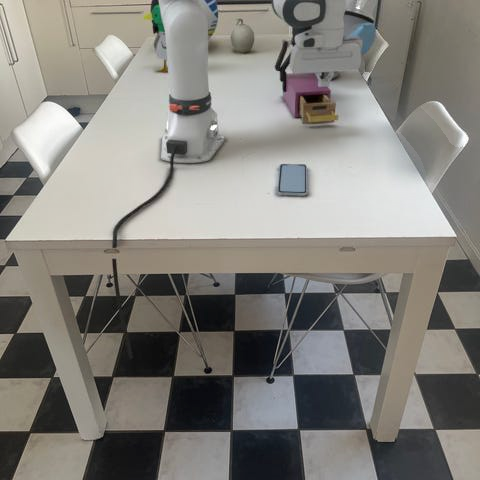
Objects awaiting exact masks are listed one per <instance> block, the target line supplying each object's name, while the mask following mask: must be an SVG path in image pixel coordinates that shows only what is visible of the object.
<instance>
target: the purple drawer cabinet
mask: <svg viewBox="0 0 480 480" xmlns="http://www.w3.org/2000/svg"><path fill="white" fill-rule="evenodd" d="M331 90H332V89H330V88H329V87H319V86H318V79H317V77H316V75H315V73H301V74H294V73H293V72H292V73H291V72H289V73H287V75H286V92H284V91H283V90H282V99H283V100H284V102H285V103H286V105H287V107H288V109H289V110H290V111H291V114H292V115H293V117H294V118H302V116H301V115H300V113H299V111H298V99H299V96H301V95H316V94H325V95H326V96H327V97H328V99H329V100H330V101H331Z"/></svg>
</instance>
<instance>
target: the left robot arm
mask: <svg viewBox="0 0 480 480" xmlns="http://www.w3.org/2000/svg"><path fill="white" fill-rule="evenodd" d="M158 1H159V6H160V12H161V17H162V22H163V26H164V30H165V37H166V48H167V60H166V64H167V68H168V69H167V74H168V75H167V76H168V84H169V95H168V104H169V110H168V111H167V112H166V117H167V124H166V128H165V134H163V135H162V136H161V137H162V138H161V153H160V158H161V160H163V161H165V162H169V164H170V165H169V173H168V175H167V177H166V179H165V181H164V183H163V184H162V186H161V188H159V190H158V191H157V192H156V193H155V194H154V195H152V196H151V197H150V198H149V199H147V200H146V201H144V202H143V203H140V204H139V205H138V206H137V207H135V208H134V209H133V210H131V211H130V212H129V213H127V214H126V215H124V216H123V217H122V218H121V219H120V220H119V221H117V223H116V224H115V226H114V228H113V230H112V244H111V248H112V249H115V248H117V246H118V245H117V244H118V231H119V229H120V227H121V226H122V225H123V224H124V222H126V221H127V220H129V218H131V217H132V216H134V215H135V214H137V213H138V212H139V211H140V210H142V209H144V208H145V207H146V206H148V205H149V204H150V203H152V202H153V201H155V200H156V199H157V198H159V197H160V195H161V194H163V192H164V191H165V190H166V188H167V187H168V184H169V182H170V181H171V178H172V177H173V172H174V165H175V164H174V163H178V164H179V163H180V164H181V163H182V164H195V163H204V162H208V161H210V160H211V159H212V158H213V157H214V155H215V154H216V153H217V151H218V150H219V149H220V148H221V146H222V145H223V144H224V142H225V139H226V138H225V136H224V135H222V134H220V133H219V119H218V113H217V112H216V111H215V110H214V109H213V108H212V93H211V92H210V84H209V65H208V64H209V60H208V59H209V40H208V22H207V19H206V17H205V15H204V13H203V11H202V8H201V3H200V0H158ZM270 3H271V8H272V11H273V13H274V14H275V15H276V16H277V17H278V18H279V19H281V20H282V21H283V22H284V23H286V25H288V26H289V27H290V28H292V29H293V28H304V27H308V26H312V29H310V30H308V31H305V32H303V33H300V34H298V35H296V36H295V43H296V45H294V47H293V46H292V48H291V50H292V51H291V50H290V52H291V57H290V64H289V70H290V71H291V72H292V73H294V74H301V73H315V75H316V77H317V79H318V86H319V87H328V88H329V87H330V81H332V80H333V79H332V77H333V76H334V71H338V72H347V71H358V70H359V69H360V67H361V65H362V64H361V63H362V56H361V49H362V43H363V41H362V39H361V38H360V37H358V36H343V34H344V20H343V17H344V13H345V10H346V9H347V0H270ZM322 72H327V73H328V74H329V75H328V76H327V78H326V79H322V80H321V78H320V76H321V74H322ZM111 263H112V274H113V275H112V276H113V283H114V284H113V285H114V291H115V297H116V298H115V299H116V303H117V308H118V313H119V318H120V322H121V327H122V331H123V334H124V339H125V344H126V348H127V354H128V358H129V359H130V360H132V359H133V358H134V357H133V351H132V347H131V341H130V337H129V332H128V328H127V323H126V320H125V319H126V318H125V314H124V310H123V305H122V299H121V292H120V287H119V286H120V285H119V284H120V283H119V277H118V266H117V265H118V264H117V258H111Z"/></svg>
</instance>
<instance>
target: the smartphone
mask: <svg viewBox="0 0 480 480" xmlns="http://www.w3.org/2000/svg"><path fill="white" fill-rule="evenodd" d="M307 194H308V166H307V165H306V164H303V163H281V164H279V167H278V180H277V195H279V196H301V197H303V196H307Z"/></svg>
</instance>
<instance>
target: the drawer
mask: <svg viewBox="0 0 480 480" xmlns="http://www.w3.org/2000/svg"><path fill="white" fill-rule="evenodd" d="M336 107H337V102H336V101H331V99H330V100H329V99H328V97H327V96H326V95H325V94H316V95H301V96H299V99H298V111H299V113H300V115H301V116H302V117H301V125H310V124H311V125H313V124H325V123H335V121H338V120H339V115H338V114H336V109H337V108H336Z"/></svg>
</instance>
